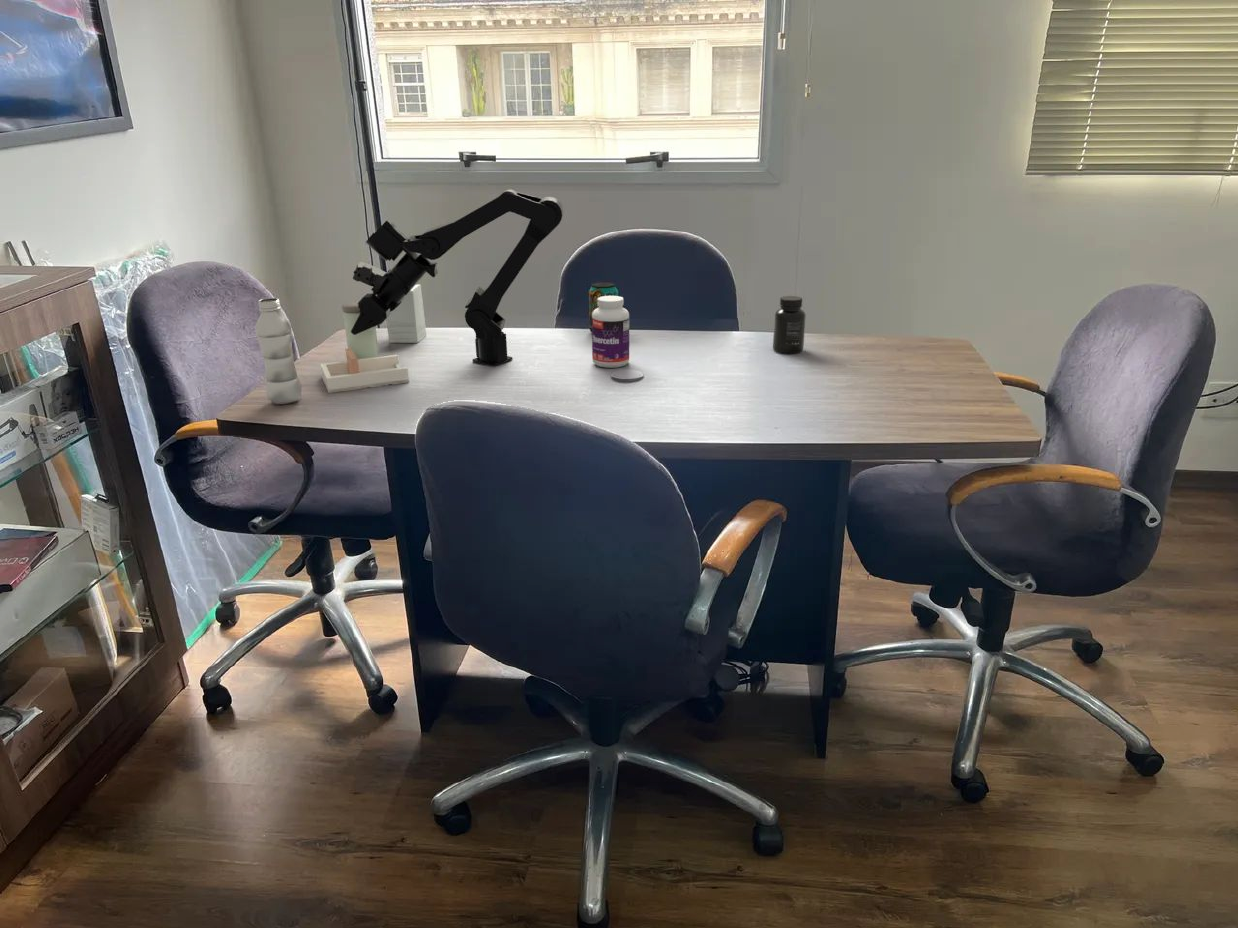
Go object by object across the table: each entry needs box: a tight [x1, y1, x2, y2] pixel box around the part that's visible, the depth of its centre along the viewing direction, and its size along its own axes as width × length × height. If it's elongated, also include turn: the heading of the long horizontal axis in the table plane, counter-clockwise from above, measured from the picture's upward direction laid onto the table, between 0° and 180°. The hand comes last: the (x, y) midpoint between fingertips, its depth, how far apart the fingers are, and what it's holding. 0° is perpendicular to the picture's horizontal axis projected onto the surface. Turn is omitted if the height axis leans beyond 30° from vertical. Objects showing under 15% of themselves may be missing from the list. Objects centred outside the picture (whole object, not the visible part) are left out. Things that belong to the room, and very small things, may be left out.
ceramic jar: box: [341, 301, 380, 359], centre depth 194 cm, size 7×7×13 cm
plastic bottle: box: [254, 297, 303, 405], centre depth 168 cm, size 6×7×20 cm
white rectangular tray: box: [319, 354, 410, 394], centre depth 184 cm, size 16×11×3 cm
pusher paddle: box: [345, 348, 359, 374], centre depth 183 cm, size 1×8×5 cm, turn 24°
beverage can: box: [588, 281, 619, 333], centre depth 215 cm, size 7×7×12 cm
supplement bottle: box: [772, 295, 807, 355], centre depth 199 cm, size 7×7×12 cm
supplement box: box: [385, 284, 427, 344], centre depth 212 cm, size 7×7×13 cm
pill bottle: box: [591, 295, 630, 369], centre depth 191 cm, size 8×8×14 cm
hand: (358, 327), depth 193 cm, fingers open, 9 cm apart
